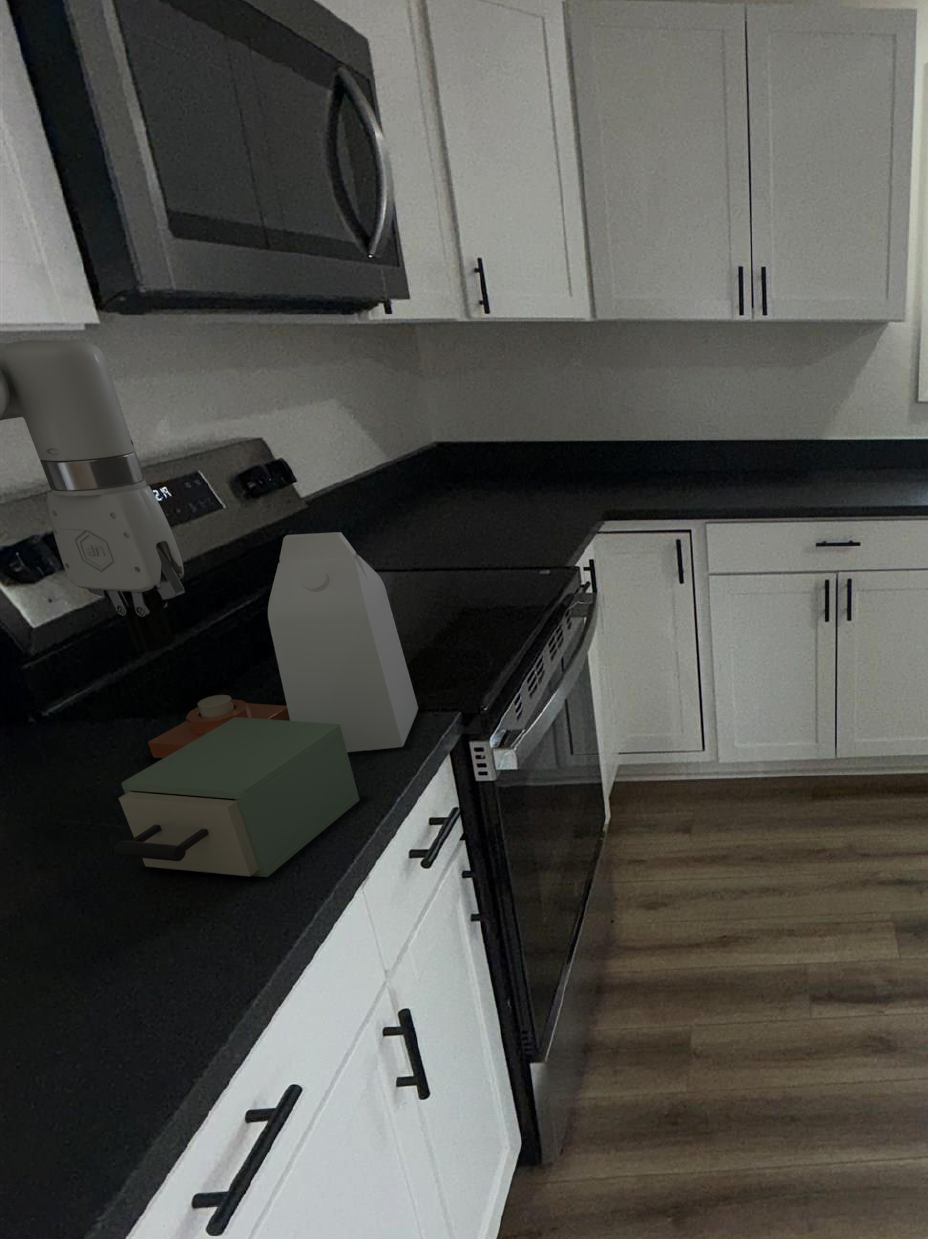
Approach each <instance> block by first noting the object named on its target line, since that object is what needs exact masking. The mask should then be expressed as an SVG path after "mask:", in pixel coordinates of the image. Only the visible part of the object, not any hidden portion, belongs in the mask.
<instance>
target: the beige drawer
mask: <svg viewBox="0 0 928 1239" xmlns="http://www.w3.org/2000/svg"><path fill="white" fill-rule="evenodd" d="M118 800H119V803H120V806H121V808H122V811H123V813H124V816H125V818H126V821H127V823H128V827H129V828H130V831H131V833H132V836H133V838H131V839H130V840H124V839H123V840H120V841H118V842H117V843H115V845H114V848H113V852H114V854H115V855H116V856H118V857H126V858H136V859H142V862H143V865H144V866H145V867H146V868H147V867H148V868H157V869H167V870H177V871H178V870H180V871H189V872H200V873H211V874H221V875H232V876H242V877H252V876H251V875H253V874H254V873H255V872H256V871H258V870H259V868H258V865H257V861H256V858H255V855H254V852H253V849H252V846H251V843H250V840H249V837H248V834H247V831H246V828H245V825H244V822H243V819H242V816H241V813H240V810H239V807H238V804H237V801H235V799H228V798H216V797H204V796H192V795H180V794H168V793H156V792H150V794H149V793H137V792H128V793H126V794H125V793H124V794H123V795H121V796H119V797H118Z"/></svg>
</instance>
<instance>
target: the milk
mask: <svg viewBox="0 0 928 1239" xmlns="http://www.w3.org/2000/svg"><path fill="white" fill-rule="evenodd" d="M281 545H282V546H281V548H280V549H281V550H280V554H279V562H278V563H277V568H276V572H275V576H274V580H273V583H272V588H271V590H270V596H269V600H268V605H267V620H268V625H269V629H270V635H271V638H272V642H273V647H274V653H275V657H276V662H277V666H278V672H279V676H280V680H281V685H282V689H283V694H284V698H285V703H286V706H287V708H288V713H289V718H290V721H299V722H314V723H328V724H340V727H341V731H342V735H343V738H344V742H345V746H346V750H347V753H353V752H364V751H375V750H384V749H394V748H395V749H396V748H403V747H404V746H405V743H406V740H407V738H408V735H409V733H410V731H411V728H412V726H413V723H414V721H415V718H416V716H417V714H418V710H419V705H418V703H417V698H416V694H415V692H414V688H413V684H412V680H411V677H410V673H409V669H408V666H407V662H406V659H405V655H404V652H403V648H402V644H401V640H400V637H399V633H398V629H397V626H396V623H395V618H394V614H393V611H392V606H391V604H390V600H389V597H388V593H387V589H386V587H385V583H384V582H383V579H382V578H381V576H380V575H379V574H378V572H376V571H375V569H374V570H373V569H372V568H371V567H370V566H369V565H368V564H367V563H366V562H365V561H366V560H364V559H363V558H362V557H361V556H360V555H359V554H357V552H356V551H355V549H354V547H353V546H352V545H351V543H350V542H349V540H347V538H346V537H345V535H344V534H343V533H342V531H339V532H338V531H337V532H320V533H319V532H317V533H297V534H286V535H285V536H284V537H283V539H282V544H281Z"/></svg>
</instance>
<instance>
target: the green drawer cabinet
mask: <svg viewBox="0 0 928 1239" xmlns="http://www.w3.org/2000/svg"><path fill="white" fill-rule="evenodd" d="M120 785H121V787H122V789H123V792H124V795H125V794H126V793H128V792H137V793H149V794H150V792H156V793H168V794H180V795H192V796H204V797H216V798H228V799H235V801H237V804H238V807H239V810H240V813H241V816H242V819H243V822H244V825H245V828H246V831H247V834H248V837H249V840H250V843H251V846H252V849H253V852H254V855H255V858H256V861H257V865H258V868H259V870H258V871H256V872H255V873H254V874H253V875H251V876H250V877H260V878H261V877H262V878H268V877H270V876H271V875H272V874H273V873H274V872H276V871H277V870H278V869H279V868H280V867H282V865H284V864H285V863H286V862H287V861H289V860H290V859H291V858H292V857H293V856H295V855H296V854H297V853H299V851H301V850H302V849H303V848H304V847H306V846H307V845H308V844H309V843H311V842H312V841H313V840H314V839H315V838H316V837H317V836H319V835H320V834H321V833H322V832H324V831H326V829H327V828H328V827H329V826H331V825H332V824H333V823H334V822H335V821H337V820H338V819H340V817H342V816H343V815H344V814H345V813H346V812H348V811H349V810H350V809H351V808H352V807H353V806H355V805H356V804H357V803H358V802H360V796H359V793H358V789H357V785H356V782H355V777H354V773H353V769H352V766H351V761H350V757H349V754H348V752H347V750H346V746H345V742H344V738H343V735H342V731H341V727H340V724H328V723H314V722H299V721H285V720H270V719H256V718H242V717H234V718H233V719H231V720H229V721H227V722H226V723H224V724H222V725H221V726H219V727H217V728H215V729H214V730H212V731H210V732H208V733H207V734H205V735H203V736H201V737H200V738H198V739H196V740H195V741H193V742H191V743H189V744H188V745H186V746H184V747H182V748H181V749H179V750H177V751H176V752H174V753H172V754H170V755H169V756H167V757H165V758H161V759H160V760H158V761H156V762H154V763H153V764H151V765H150V766H148V767H146V768H144V769H143V770H141V771H139V772H137V773H136V774H133V775H132V776H130V777H128V778H127V779H125V780H124V781H122V782H121V783H120Z"/></svg>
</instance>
